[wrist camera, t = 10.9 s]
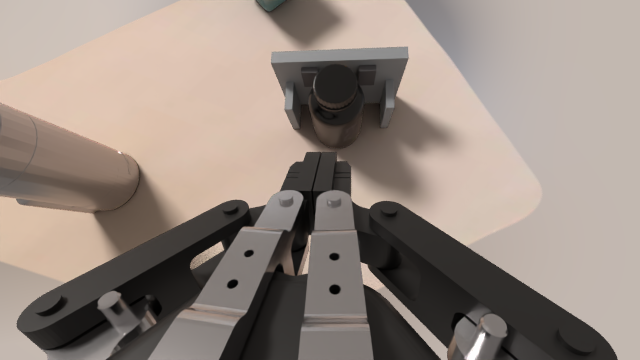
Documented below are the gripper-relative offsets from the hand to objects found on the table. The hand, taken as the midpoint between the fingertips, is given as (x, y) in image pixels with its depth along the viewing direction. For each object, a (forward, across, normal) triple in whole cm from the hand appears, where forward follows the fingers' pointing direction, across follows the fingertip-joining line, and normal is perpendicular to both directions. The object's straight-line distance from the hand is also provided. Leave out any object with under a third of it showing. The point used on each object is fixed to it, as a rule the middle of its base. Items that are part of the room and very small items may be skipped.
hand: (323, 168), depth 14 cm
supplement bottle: (+26, -1, -8) cm, 28 cm away
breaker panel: (+28, -1, -6) cm, 29 cm away
